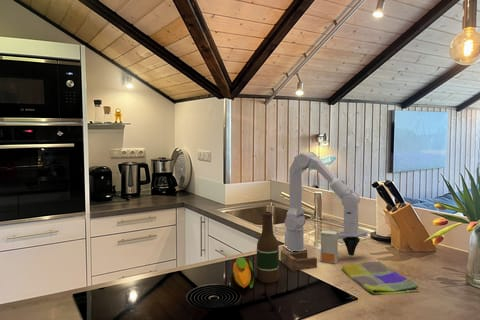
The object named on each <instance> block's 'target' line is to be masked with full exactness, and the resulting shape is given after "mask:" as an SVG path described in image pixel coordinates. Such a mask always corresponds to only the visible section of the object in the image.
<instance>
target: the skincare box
mask: <svg viewBox="0 0 480 320" xmlns="http://www.w3.org/2000/svg"><path fill="white" fill-rule="evenodd" d="M338 233H339V232H338V231H333V230H322V231H320V262H323V263H330V264H336V263H337V262H338V251H339V249H338V247H339V244H338V240H339V239H338V240H337V238H338Z"/></svg>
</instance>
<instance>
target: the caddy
mask: <svg viewBox="0 0 480 320" xmlns="http://www.w3.org/2000/svg"><path fill="white" fill-rule="evenodd" d="M280 262H281V263H282V264H283V265H285V266H286V268H288V269H289V270H290V271H292V272H297V271H298V270H299V271H300V270H307V269H315V268H318V258H317V257H308V251H299V252H288V251H286V250H284V249H282V250H280Z"/></svg>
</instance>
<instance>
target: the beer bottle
mask: <svg viewBox="0 0 480 320" xmlns="http://www.w3.org/2000/svg"><path fill="white" fill-rule="evenodd" d="M273 215H274V214H273V212H271V211H263V212H262V213H261V216H262V230H261V235H260V236H259V238H258V241H257V243H256V274H257V275H256V276H257V277H256V278H257V280H258V281H259V282H260V283H263V284H273V283H277V282H278V280H279V279H280V252H279V251H280V248H279V241H278V239H277V237H276V236H275V234H274V228H273V227H274V226H273Z"/></svg>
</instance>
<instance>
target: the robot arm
mask: <svg viewBox="0 0 480 320" xmlns="http://www.w3.org/2000/svg"><path fill="white" fill-rule="evenodd" d="M307 169H310V170H315V171H317V172H318V173H319V174H320V175H321V176H322V177H323V178H324V179H325V180H326V181H327V182H328V183H329V188H330V190H331V191H332V192H334V194H335V196H337V197H338V199H339V200H341V205H342V206H343V231H341V232H338V238H337V240H339V239H342V241H343V243H344V244H345V247H346V250H347V251H346V252H347V255H348V256H350V257H352V256H354V255H355V251H356V248H357V247H358V244H359V242H361V241H360V240H361V239H360V238H361V237H368V234H369V233H368V231H366V230H359V204H360V201H361V198H360V195H359V194H358V193H357V192H356V191H354V189H352V188H350V187H349V186H348V185H347V184H346V181H345V179H342V178H339V177H336V176H335V175H334V174H333V173H332V172H331V170H330V169H329V168H328V167H327V166H326V165H325V163H324V162H323V161H322V159H321V158H320V156H317V154H316V153H315V152H313V151H307V152H299V153H298V154H296V155H295V156H294V157H293V161H292V163H291V164H290V167H289V172H288V173H289V175H288V177H289V180H288V181H289V186H288V187H289V190H288V191H289V199H288V201H289V209H288V211H287V212H286V217H285V220H284V227H285V231H284V245H285V246H287V248H288V249H290V250H289V251H288V252H290V251H291V252H290V253H294V252H293V251H299V252H303V251H302V250H307V251H308V249H307V248H306V247H304V236H305V235H304V226H305V225H306V221H307V220H306V216H305V214H304V213H305V212H304V208H302V206H303V205H302V199H303V198H302V197H303V196H302V191H303V190H302V188H303V185H302V184H303V183H302V179H303V177H302V173H304V172H305V171H306V170H307ZM359 237H360V238H359ZM304 248H305V249H304Z"/></svg>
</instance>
